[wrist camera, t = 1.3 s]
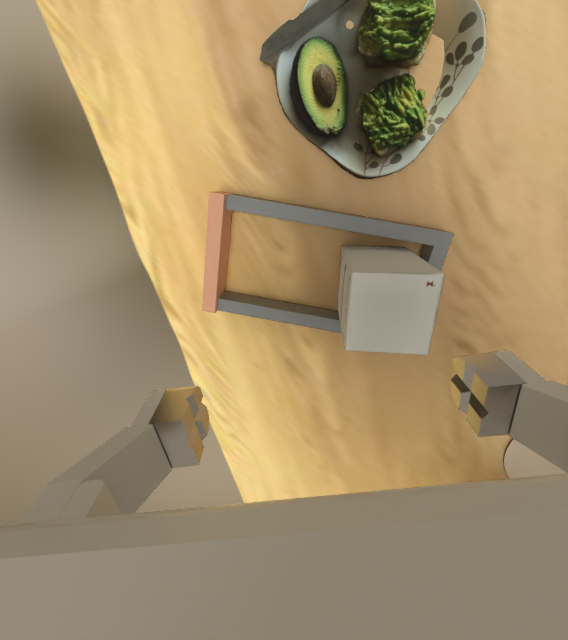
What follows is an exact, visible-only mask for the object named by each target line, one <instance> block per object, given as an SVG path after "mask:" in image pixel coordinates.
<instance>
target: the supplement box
mask: <svg viewBox="0 0 568 640" xmlns="http://www.w3.org/2000/svg"><path fill="white" fill-rule="evenodd" d="M443 279H444V273H443V272H441V271H440V270H438V269H437V268H435V267H434V266H432V265H431V264H429V263H428V262H426V261H425V260H423V259H422V258H420V257H419V256H417V255H416V254H414V253H413V252H411V251H410V250H408V249H407V248H405V247H384V246H352V245H343V246H341V267H340V279H339V291H338V300H337V306H338V312H339V319H340V325H341V330H342V335H343V341H344V347H345V350H346V351H364V352H384V353H397V354H410V355H423V356H426V355H427V354H428V352H429V348H430V343H431V338H432V333H433V328H434V323H435V319H436V314H437V308H438V303H439V298H440V293H441V288H442V284H443Z"/></svg>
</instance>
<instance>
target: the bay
mask: <svg viewBox="0 0 568 640" xmlns="http://www.w3.org/2000/svg"><path fill="white" fill-rule="evenodd" d="M232 211H238V212H243V213H249V214H255V215H261V216H266V217H272V218H278V219H283V220H289V221H295V222H301V223H306V224H312V225H318V226H323V227H329V228H335V229H341V230H346V231H352V232H358V233H363V234H369V235H375V236H381V237H386V238H392V239H398V240H403V241H409V242H415V243H421V244H424V246H423V249H422V252H421V255H420V258H422V259H423V260H425V261H426V262H428V263H429V264H431V265H432V266H434V267H435V268H437V269H438V270H440V271H441V268H442V266H443V263H444V260H445V257H446V254H447V252H448V249H449V246H450V243H451V241H452V238H453V235H454V234H453V233H450V232H447V231H444V230H439V229H433V228H427V227H421V226H416V225H410V224H404V223H398V222H393V221H387V220H381V219H375V218H370V217H364V216H358V215H352V214H347V213H341V212H335V211H329V210H323V209H318V208H312V207H306V206H300V205H295V204H289V203H283V202H277V201H272V200H266V199H260V198H254V197H249V196H243V195H237V194H231V193H225V192H210V193H209V209H208V225H207V242H206V258H205V274H204V290H203V307H202V311H206V312H211V313H215V312H216V311H217V310H219V311H224V312H230V313H235V314H241V315H246V316H252V317H257V318H262V319H268V320H273V321H279V322H284V323H290V324H295V325H300V326H306V327H311V328H317V329H322V330H328V331H333V332H339V333H342V330H341V325H340V319H339V312H338V311H332V310H327V309H321V308H316V307H310V306H305V305H299V304H294V303H288V302H283V301H277V300H272V299H266V298H261V297H256V296H250V295H245V294H239V293H234V292H228V291H225V286H226V275H227V264H228V253H229V242H230V231H231V219H232Z"/></svg>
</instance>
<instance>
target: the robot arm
mask: <svg viewBox="0 0 568 640" xmlns="http://www.w3.org/2000/svg"><path fill="white" fill-rule="evenodd" d="M452 368H453V370H454V371H455V372H456V374H455V375H454V377H453V378H452V379H451V383H450V391H451V396H452V399H453V401H454V403H455V405H456V406H457V408H458V409H459V410H461V411H463V412H465V413H467V418H466V420H467V422H468V423H469V424H470V426H471V427H472V429H473V430H474V431H475V433H476V434H477V436H478V437H483V436H497V435H509V436H510V437H511V438H513V441H512V442H511V443H510V445H509V446H508V448H507V450H506V453H505V457H504V467H505V471H506V473H507V475H508V477H509V478H510V479H500V480H490V481H479V482H468V483H457V484H446V485H435V486H425V487H414V488H403V489H392V490H381V491H370V492H359V493H349V494H338V495H327V496H316V497H305V498H295V499H284V500H273V501H263V502H252V503H241V504H231V505H220V506H210V507H198V508H188V509H177V510H165V511H156V512H155V511H154V512H144V513H135V512H136V511H137V510H138V509H139V507H140V506H141V505H142V504H143V503H144V502H145V500H146V499H147V498H148V497H149V496H150V495H151V494H152V492H153V491H154V490H155V489H156V488H157V487H158V485H159V484H160V483H161V482H162V481H163V480H164V478H165V477H166V476H167V475H168V474H169V473H170V472H171V470H172V468H178V467H186V466H193V465H199V463H200V459H201V456H202V452H203V448H204V446H203V443H202V440H203V439H204V438H205V437H206V436H207V433H208V430H209V415H208V410H207V407H206V406H205V405H204V404H202V403H201V401H202V398H203V395H202V392H201V389H200V388H199V387H198V386H193V387H183V388H172V389H162V390H154V391H152V392H150V394H149V395H148V397H147V399H146V401H145V402H144V404H143V406H142V407H141V409H140V411H139V413H138V414H137V416H136V418H135V420H134V421H133V423H132V425H131V426H130V427H125V428H124V429H122V430H121V431H120V432H118V433H117V434H116V435H114V436H113V437H111V438H110V439H109V440H107V441H106V442H105V443H103V444H102V445H100V446H99V447H98V448H97V449H95V450H94V451H92V452H91V453H89V454H88V455H87V456H85V457H84V458H83V459H81V460H80V461H78V462H77V463H76V464H74V465H73V466H72V467H70V468H69V469H67V470H66V471H65V472H63V473H62V474H61V475H59V476H58V477H56V478H55V479H54V480H52V481H51V482H50V483H48V485H47V486H46V488H45V489H44V490H43V492H42V493H41V495H40V496H39V497H38V499H37V500H36V502H35V503H34V504H33V506H32V507H31V508H30V510H29V511H28V512H27V514H26V515H25V517H24V518H23V519H22V521H21V522H20V523H19V524H14V525H3V526H0V640H568V386H566V385H563V384H560V383H557V382H554V381H546V380H545V379H543V378H542V377H541V376H540V375H539V374H537V373H536V372H535V371H534V370H533V369H531V368H530V367H529V366H528V365H527V364H525V363H524V362H523V361H522V360H520V359H519V358H518V357H517V356H516V355H514V354H513V353H512V352H510V351H507V350H502V351H495V352H489V353H485V354H476V355H468V356H459V357H455V359H454V361H453V366H452Z"/></svg>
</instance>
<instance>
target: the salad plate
mask: <svg viewBox="0 0 568 640" xmlns="http://www.w3.org/2000/svg"><path fill="white" fill-rule="evenodd" d="M348 20H351V21H352V22H353V23H354V27H353V28H352V29H347V28H346V25H345V24H346V22H347V21H348ZM431 34H434V35H436V36H438V37H440V38H442V39H443V40H444V50H445V58H444V65H443V71H442V77H441V80H440V83H439V86H438V88H437V91H436V93H435V95H434V97H433V98H432V100H431V102H430V103H429V105H428V107H427V108H426V109H425V108H424V106H423V104H422V100H423V99H424V97H425V92H424V91H423V90H422V89H420V90H418V91H416V89H415V79H414V77H412V76H410V75H409V71H408V68H409V66H412V65H418V64H419V63H420V62H421V59H422V57H423V55H424V53H425V51H426V49H427V46H428V44H429V41H430V38H431ZM485 48H486V19H485V13H484V12H483V10H482V9H481V7H480V5H479V3H478V2H477V1H476V0H307V2H306V5H305V7H304V9H303V11H302V13H301V14H300V15H299V16H298V17H297V18H296V19H294V20H288V21H287V22H286V23H285V24H283V25H282V26H281V27H279V28H278V29H277V30H276V31H275V32H274V33H273V34H272V35H271V36H270V37H269V38H268V39H267V40H266V41H265V42H264V44H263V45H262V53H261V57H260V61H262V62H264V63H269V64H270V65H271V66H272V68H273V70H274V74H275V79H276V86H277V94H278V97H279V101H280V104H281V105H282V108H283V111H284V113H285V115H286V117H287V118H288V119H289V121H290V122H291V123H292V124H293V125H294V126H295V128H296V129H297V130H298V131H300V132H301V133H302V134H303V135H304V136H305V137H306V138H307V139H308V140H309V141H310V142H312V143H313V144H315V145H316V146H317V147H319V148H320V149H321V150H322V151H324V152H325V153H326V154H327V155H328V156H330V157H331V158H332V159H333V160H334V161H335V162H336V163H337V164H338V165H339V166H340V167H341V168H343V169H344V170H346V171H348V172H349V173H351V174H353V175H354V176H355V177H358V178H362V179H373V178H377V177H382V176H386V175H389V174H392V173H394V172H397V171H399V170H401V169H403V168H404V167H406V166H407V165H408V164H410V163H411V162H412V161H413V160H414V159H415V158H416V157H417V156H418V155H419V154H420V153H421V152H422V151H423V149H424V148H425V147H426V146H427V144H428V143H429V141H430V140H431V139H432V137H433V136H434V134H435V133H436V132H437V130H438V129H439V128H440V126H441V125H442V124H443V123H444V121H445V120H446V119H447V117H448V116H449V114H450V113H451V112H452V111H453V109H454V108H455V107H456V106H457V105H458V104H459V102H460V100H461V99H462V98H463V96H464V95H465V93H466V91H467V90H468V88H469V87H470V85H471V84H472V82H473V81H474V79H475V78H476V76H477V75H478V73H479V70H480V68H481V65H482V62H483V58H484V54H485ZM372 89H374V90H373V91H372V92H370V91H371V90H372ZM357 142H358V143H357Z"/></svg>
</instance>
